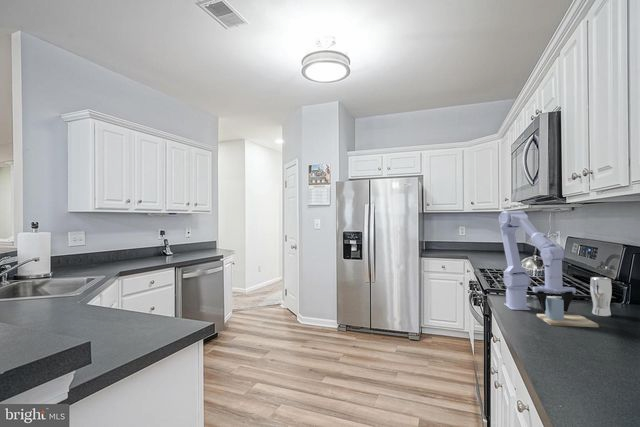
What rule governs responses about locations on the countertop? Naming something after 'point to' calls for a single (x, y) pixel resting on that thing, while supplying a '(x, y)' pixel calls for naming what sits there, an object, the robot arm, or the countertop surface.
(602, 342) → the countertop surface
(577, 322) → the board
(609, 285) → the beer glass
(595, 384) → the countertop surface
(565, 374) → the countertop surface
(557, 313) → the slab
